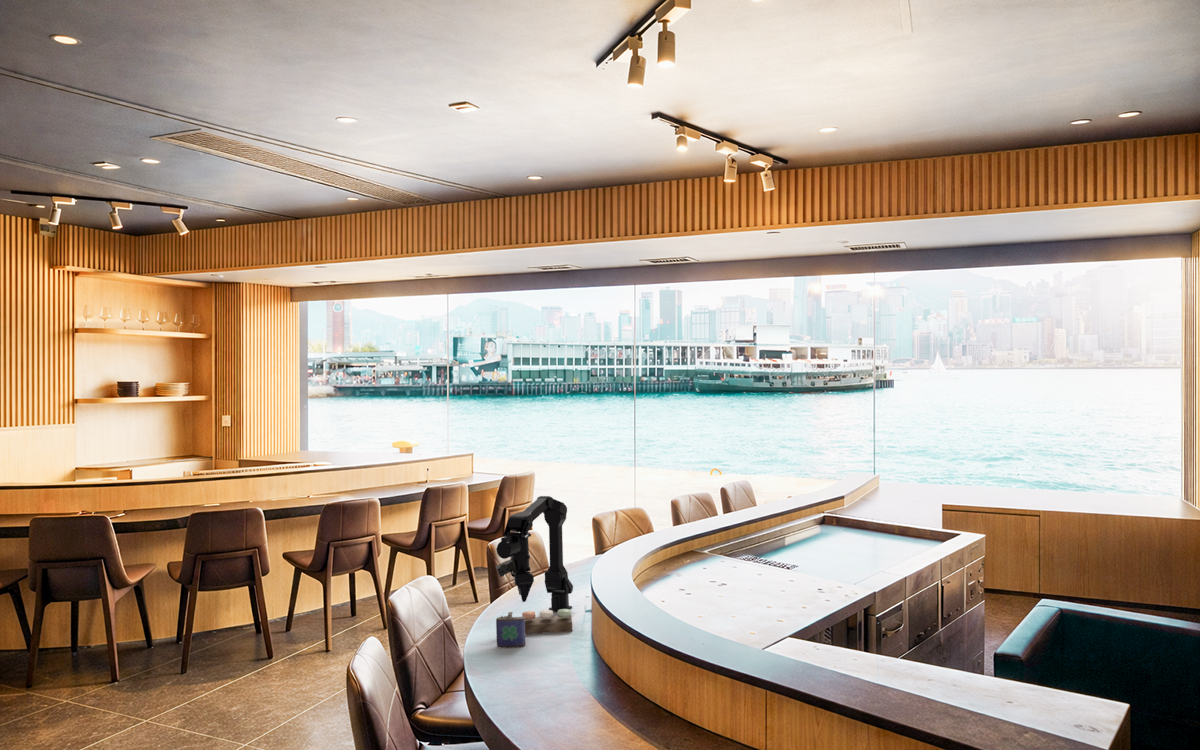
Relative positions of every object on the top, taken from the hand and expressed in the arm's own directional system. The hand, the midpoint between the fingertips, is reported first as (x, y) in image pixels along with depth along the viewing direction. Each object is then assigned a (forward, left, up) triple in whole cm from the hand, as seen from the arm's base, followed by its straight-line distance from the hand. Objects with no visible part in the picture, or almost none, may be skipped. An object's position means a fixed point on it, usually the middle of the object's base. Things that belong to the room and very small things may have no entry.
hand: (522, 598), depth 245 cm
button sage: (-9, +11, -6) cm, 15 cm away
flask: (+14, +8, -11) cm, 20 cm away
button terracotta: (-1, +2, -7) cm, 7 cm away
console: (-5, +7, -11) cm, 13 cm away
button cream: (-5, +7, -7) cm, 10 cm away
